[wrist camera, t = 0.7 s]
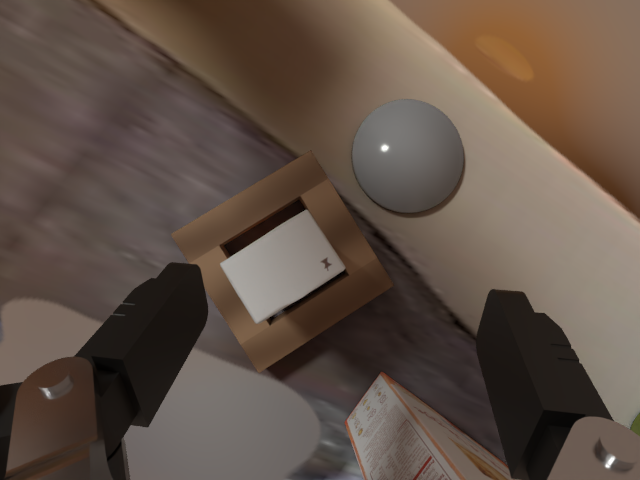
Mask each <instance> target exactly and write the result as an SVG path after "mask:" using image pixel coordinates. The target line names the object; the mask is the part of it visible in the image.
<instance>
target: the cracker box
mask: <svg viewBox="0 0 640 480" xmlns="http://www.w3.org/2000/svg"><path fill="white" fill-rule="evenodd" d="M345 425H346V428H347V431H348V434H349V437H350V440H351V443H352V446H353V449H354V452H355V455H356V458H357V461H358V464H359V467H360V470H361V473H362V476H363V478H364V480H519V479H512V478H511V475H510V472H509V468H508V466H507V465H506V464H505V463H504V462H503V461H501V460H500V459H498V458H497V457H496V456H494V455H493V454H492V453H490V452H489V451H488V450H486V449H485V448H484V447H482V446H481V445H480V444H478V443H477V442H476V441H475V440H473V439H472V438H471V437H469V436H468V435H467V434H465V433H464V432H463V431H461V430H460V429H459V428H457V427H456V426H455V425H453V424H452V423H451V422H449V421H448V420H447V419H445V418H444V417H443V416H441V415H440V414H439V413H437V412H436V411H435V410H433V409H432V408H431V407H429V406H428V405H427V404H425V403H424V402H423V401H421V400H420V399H419V398H417V397H416V396H415V395H413V394H412V393H411V392H409V391H408V390H407V389H405V388H404V387H403V386H401V385H400V384H398V383H397V382H396V381H394V380H393V379H392V378H390V377H389V376H388V375H386V374H385V373H384V372H380V374H379V375H378V377H377V378H376V379H375V381H374V382H373V383H372V385H371V386H370V388H369V389H368V390H367V392H366V393H365V394H364V396H363V397H362V399H361V400H360V401H359V403H358V404H357V406H356V407H355V408H354V410H353V411H352V412H351V414H350V415H349V417H348V418H347V419H346V421H345Z"/></svg>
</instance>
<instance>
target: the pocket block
mask: <svg viewBox="0 0 640 480" xmlns="http://www.w3.org/2000/svg"><path fill="white" fill-rule="evenodd" d="M297 200H300V201H301V203H302V205H303V206H304V208H305V209H306V210H308V211H309V212H310V213H311V215H312V217H313V218H314V220H315V221H316V223H317V224H318V226H319V227H320V229H321V230H322V232H323V233H324V235H325V236H326V238H327V240H328V241H329V243H330V244H331V246H332V247H333V249H334V250H335V252H336V253H337V255H338V256H339V258H340V260H341V261H342V262H343V264H344V265H345V267H346V268H345V270H344V272H345V273H344V274H343V275H341V276H340V277H338V278H337V279H335V280H333V281H332V282H330V283H329V284H327V285H326V286H324V287H323V288H321V289H319V290H318V291H316V292H315V293H313V294H312V295H310V296H308V297H307V298H305V299H304V300H302V301H301V302H299V303H297V304H296V305H294V306H293V307H291V308H290V309H288V310H286V311H285V312H283V313H282V314H280V315H279V316H277V317H275V318H274V319H272V320H270V318H268V319H266V320H265V321H263V322H261V323H259V324H256V323H255V322H254V320H253V318H252V317H251V315H250V314H249V312H248V310H247V309H246V307H245V306H244V304H243V302H242V301H241V299H240V297H239V296H238V294H237V293H236V291H235V289H234V288H233V286H232V284H231V283H230V281H229V279H228V278H227V276H226V274H225V273H224V271H223V269H222V268H221V266H220V263H221V262H223V261H225V260H226V259H228V258H230V257H231V256H230V254H229V253H228V251H227V250H226V248H225V247H224V245H225V244H227V243H229V242H230V241H232V240H234V239H235V238H237V237H238V236H240V235H242V234H243V233H245V232H247V231H248V230H250V229H252V228H253V227H255V226H256V225H258V224H260V223H261V222H263V221H265V220H266V219H268V218H270V217H271V216H273V215H274V214H276V213H278V212H279V211H281V210H283V209H284V208H286V207H288V206H289V205H291V204H292V203H294V202H296V201H297ZM171 236H172V237H173V239H174V240H175V242H176V244H177V245H178V247H179V248H180V250H181V251H182V253H183V255H184V256H185V258H186V259H187V261H188V262H189V264H197V265H198V266H199V267H200V269H201V273H202V278H203V283H204V288H205V289H206V291H207V292H208V294H209V296H210V297H211V299H212V300H213V302H214V303H215V305H216V307H217V308H218V310H219V311H220V313H221V314H222V316H223V318H224V319H225V321H226V322H227V324H228V325H229V327H230V329H231V330H232V332H233V333H234V335H235V337H236V338H237V340H238V341H239V343H240V344H241V346H242V348H243V349H244V351H245V352H246V354H247V355H248V357H249V359H250V360H251V362H252V363H253V365H254V366H255V368H256V370H257V371H258V373H260V372H261V371H263V370H264V369H266V368H267V367H269V366H270V365H272V364H274V363H275V362H277V361H278V360H280V359H281V358H283V357H284V356H286V355H287V354H289V353H291V352H292V351H294V350H295V349H297V348H298V347H300V346H301V345H303V344H304V343H306V342H308V341H309V340H311V339H312V338H314V337H315V336H317V335H318V334H320V333H321V332H323V331H325V330H326V329H328V328H329V327H331V326H332V325H334V324H335V323H337V322H338V321H340V320H341V319H343V318H345V317H346V316H348V315H349V314H351V313H352V312H354V311H355V310H357V309H358V308H360V307H362V306H363V305H365V304H366V303H368V302H369V301H371V300H372V299H374V298H375V297H377V296H379V295H380V294H382V293H383V292H385V291H386V290H388V289H389V288H391V287H392V286H394V284H393V283H392V281H391V279H390V278H389V276H388V274H387V273H386V271H385V270H384V268H383V266H382V265H381V263H380V262H379V260H378V258H377V257H376V255H375V253H374V252H373V250H372V249H371V247H370V245H369V244H368V242H367V240H366V239H365V237H364V236H363V234H362V232H361V231H360V229H359V227H358V226H357V224H356V223H355V221H354V219H353V218H352V216H351V214H350V213H349V211H348V210H347V208H346V206H345V205H344V203H343V201H342V200H341V198H340V197H339V195H338V193H337V192H336V190H335V189H334V187H333V185H332V184H331V182H330V180H329V179H328V177H327V176H326V174H325V172H324V171H323V169H322V167H321V166H320V164H319V163H318V161H317V159H316V158H315V156H314V154H313V153H312V151H311V150H310V151H309V152H307V153H305V154H304V155H302V156H300V157H299V158H297V159H295V160H294V161H292V162H290V163H289V164H287V165H285V166H284V167H282V168H280V169H279V170H277V171H275V172H274V173H272V174H270V175H269V176H267V177H265V178H264V179H262V180H260V181H259V182H257V183H255V184H254V185H252V186H250V187H249V188H247V189H245V190H244V191H242V192H240V193H239V194H237V195H235V196H234V197H232V198H230V199H229V200H227V201H225V202H224V203H222V204H220V205H219V206H217V207H215V208H214V209H212V210H210V211H209V212H207V213H205V214H204V215H202V216H200V217H199V218H197V219H195V220H194V221H192V222H190V223H189V224H187V225H185V226H184V227H182V228H180V229H179V230H177V231H175V232H174V233H172V234H171Z"/></svg>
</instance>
